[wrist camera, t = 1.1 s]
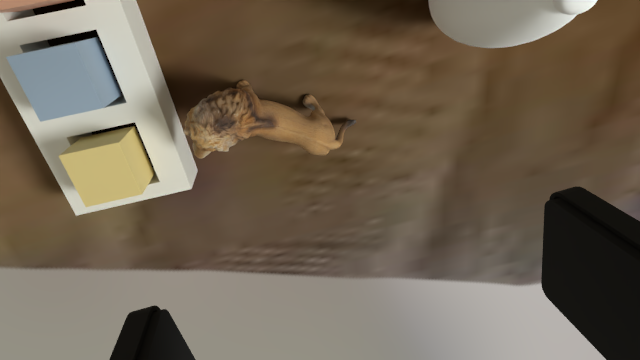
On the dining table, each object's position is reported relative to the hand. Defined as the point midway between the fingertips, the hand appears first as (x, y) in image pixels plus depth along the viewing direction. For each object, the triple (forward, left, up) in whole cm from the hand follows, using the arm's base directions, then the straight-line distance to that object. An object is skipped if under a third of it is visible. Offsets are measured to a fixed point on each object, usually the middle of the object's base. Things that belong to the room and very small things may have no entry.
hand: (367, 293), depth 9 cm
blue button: (-4, -15, -25) cm, 30 cm away
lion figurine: (+3, -2, -29) cm, 29 cm away
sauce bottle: (-4, +16, -29) cm, 33 cm away
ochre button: (+3, -15, -25) cm, 30 cm away
